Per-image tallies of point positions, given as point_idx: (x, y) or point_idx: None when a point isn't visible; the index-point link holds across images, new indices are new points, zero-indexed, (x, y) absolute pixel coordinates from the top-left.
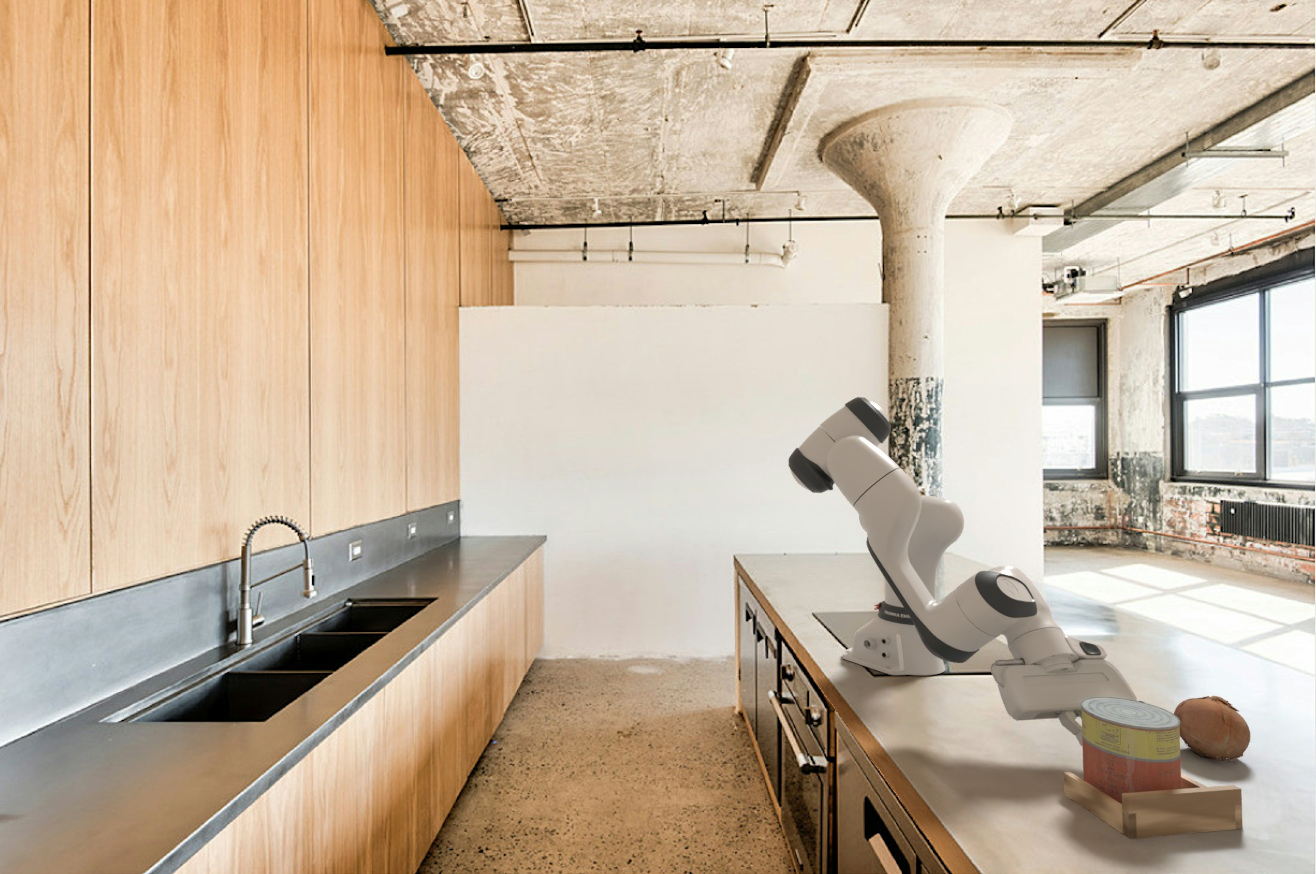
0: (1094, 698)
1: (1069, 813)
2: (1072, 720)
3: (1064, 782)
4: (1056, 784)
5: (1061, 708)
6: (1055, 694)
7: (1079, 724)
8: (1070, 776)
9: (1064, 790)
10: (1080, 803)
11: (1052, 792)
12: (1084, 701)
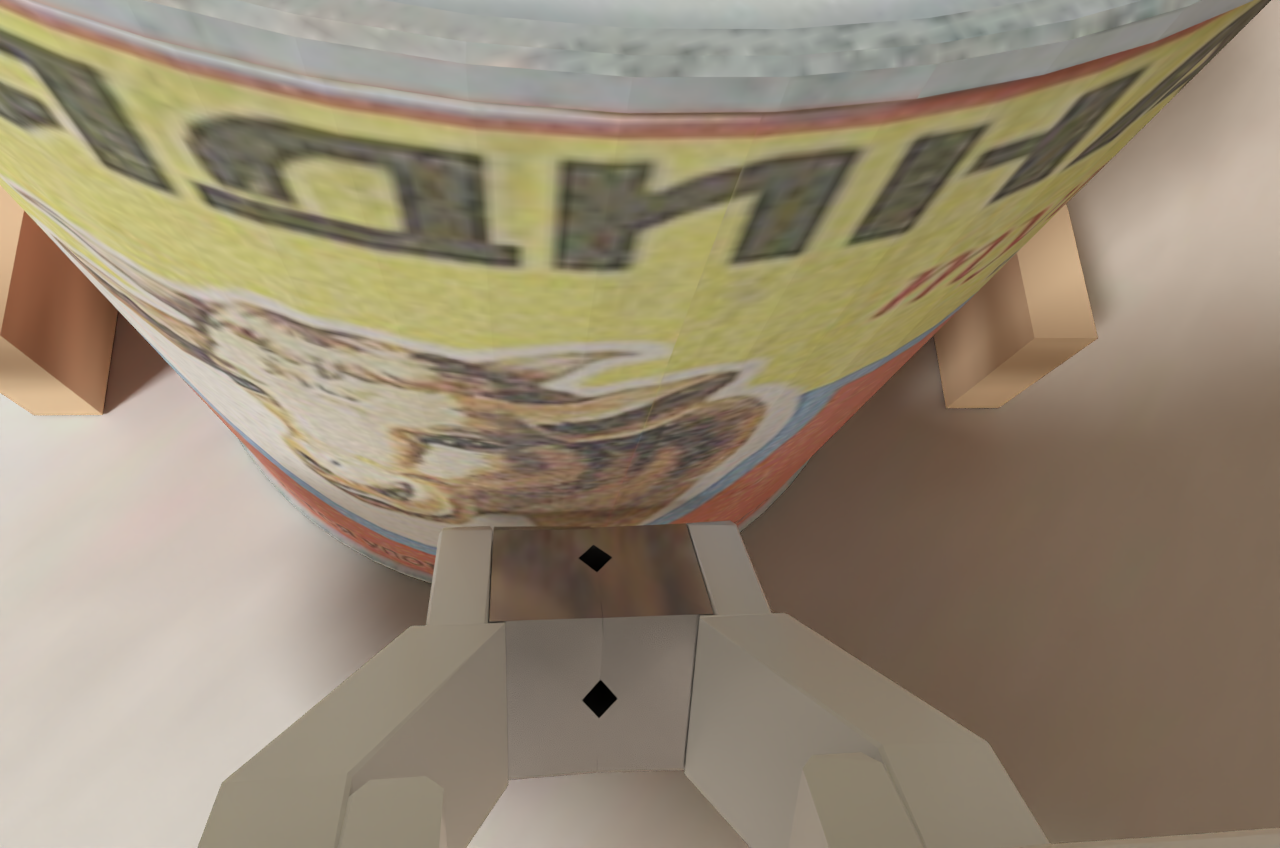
0: (807, 16)
1: (1098, 189)
2: (913, 716)
3: (1045, 371)
4: (973, 562)
5: (1260, 834)
6: None
7: (778, 669)
8: (1078, 266)
9: (1011, 398)
10: None
11: (1071, 446)
12: None
